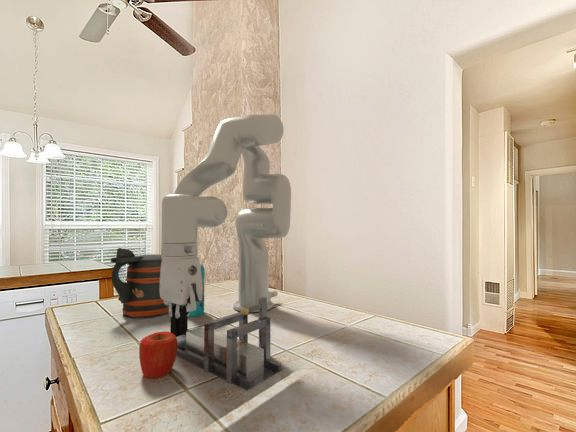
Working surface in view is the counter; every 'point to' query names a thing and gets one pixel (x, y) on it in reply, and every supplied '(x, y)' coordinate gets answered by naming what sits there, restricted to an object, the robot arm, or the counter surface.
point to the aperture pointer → (262, 312)
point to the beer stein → (139, 284)
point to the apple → (157, 354)
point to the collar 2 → (242, 330)
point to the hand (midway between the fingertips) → (179, 334)
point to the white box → (247, 354)
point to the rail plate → (221, 371)
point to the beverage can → (200, 304)
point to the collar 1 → (209, 335)
